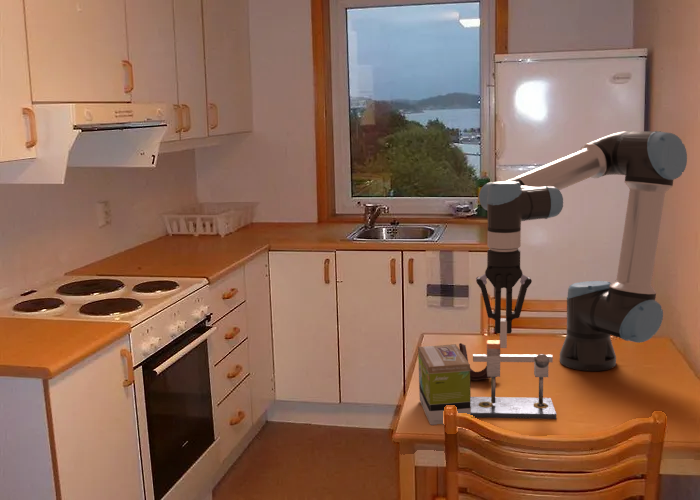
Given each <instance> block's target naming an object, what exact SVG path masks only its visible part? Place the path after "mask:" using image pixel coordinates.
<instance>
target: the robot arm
mask: <svg viewBox="0 0 700 500" xmlns="http://www.w3.org/2000/svg"><path fill="white" fill-rule="evenodd" d="M687 152H688V151H687V148H686V146H685V144H684V143H683V140H682V139H681V138H680V137H679V136H678V135H676V134H675V133H673V132H672V133H671V132H666V131H662V130H661V131H657V130H655V131H654V130H653V131H648V130H647V131H646V130H645V131H643V130H642V131H640V130H639V131H637V130H636V131H632V130H625V131H623V130H622V131H618V132H614V133H611V134H609V135H606V136H603V137H601V138H598V139H595V140H592V141H590V142H588V143H586V144H584V145H582V146H581V148H580V149H579V150H578V151H577V152H574V153H571V154H569V155H567V156H564V157H561V158H558V159H557V160H554V161H552V162H549V163H547V164H544V165H541V166H539V167H537V168H534V169H532V170H530V171H527V172H525V173H521V174H519V175H517V176H514V177H512V178H509V179H507V180H502V181H500V180H499V181H493V182H492V181H490V182H487V183H485V184H484V185H483V186H482V187H481V189H480V191H479V195H478V200H479V204H480V206H481V207H482V208H483V209H484V210H485V211H487V213H486V214H487V236H486V237H487V240H486V241H487V248H488V249H487V252H486V253H487V259H486V261H487V262H486V263H487V265H486V269H485V271H484V274H482V275H480V276H477V277H476V278H475V280H476V284H477V285H478V287H479V288H480V291H481V294H482V298H483V302H484V306H485V310H486V314H487V318H489V319H493V320H494V333H495V334H499V340H500V349H507V346H508V342H507V341H508V334H511V333H512V332H513V331H512V329H513V327H512V326H513V325H512V323H513V320H515V319H519V318H520V316H521V313H522V309H523V305H524V302H525V297H526V294H527V290H528V288H529V287H530V285H531V284H532V282H533V281H532V279H531V277H530V276H527V275H525V273H523V270H522V269H521V250H520V249H519V248H521V244H522V243H521V241H522V240H521V238H522V236H521V233H522V231H521V230H522V227H521V226H522V222H525V221H526V222H527V221H534V220H541V219H542V220H543V219H544V220H547V219H551V218H554V217H557V216H558V215H560V213H561V212H562V210H563V207H564V197H563V194H562V192H561V190H563V189H566V188H568V187H571V186H574V185H575V184H578V183H580V182H583V181H585V180H586V179H590V178H592V179H599V178H603V177H604V176H610V175H611V176H612V175H614V176H615V175H619V176H621V175H622V176H624V183H625V185H626V186H627V187H628V188H629V191H628V192H629V193H628V198H627V207H626V212H625V213H626V214H625V219H624V225H623V226H624V227H623V234H622V240H621V248H620V253H619V259H618V260H619V261H618V267H617V275H616V280H614V281H613V282H612V283H611V282H610V281H605V280H592V281H591V280H589V281H587V280H586V281H580V282H574V283H572V284H570V285H569V287H568V288H567V297H566V336H565V338H564V341H563V345H562V347H561V349H560V352H559V362H560V364H561V365H563V366H564V367H566V368H569V369H572V370H577V371H582V372H583V371H584V372H602V371H603V372H604V371H609V370H611V369H613V368H615V367H616V366H617V356H616V352H615V349H614V345H613V342H612V339H611V336H614V337H616V338H620V339H621V340H624V341H627V342H633V343H644V342H647V341H649V340H651V339H652V338H653V337H654V335H656V334H657V332H658V331H659V330H660V328H661V325H662V322H663V320H664V310H663V309H662V305H661V303H659V302H658V301H657V300H656V298H657V297H656V296H657V291H656V290H655V287H653V286H652V281H653V275H654V268H655V260H656V255H657V250H658V249H657V248H658V243H659V236H660V235H659V234H660V229H661V223H662V216H663V208H664V202H665V197H666V193H667V192H668V191H669V190H671V189H672V188H673V186H674V180H677V179H678V178H680V177H681V176H682V175H683V173H684V172H685V170H686V168H687V165H688V164H687V163H688V153H687ZM487 280H488V281H489V282H490V283H491V285H492V286H493V287H494V311H493V310H492V307H491V302H490V297H489V295H488V289H487V286H486V285H487V283H488V282H487ZM519 280H520V282H519V283H520V284H521V285H520V287H519V291H518V294H517V295H518V296H517V299H516V302H515V307H514V310H513V288H514V286H515V285H516V284H517V283H518V281H519ZM502 289H505V317H502V314H501V311H502Z"/></svg>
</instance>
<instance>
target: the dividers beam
mask: <svg viewBox="0 0 700 500" xmlns="http://www.w3.org/2000/svg"><path fill="white" fill-rule="evenodd" d="M553 359H554V358H553V354H544V353H539V354H507V353H506V354H504V353H503V354H501V353H500V363H533V367H534V368H533V369H534V370H533V372H534V373H533V375H534V377H535V378H538V398H539V404H543V398H544V378H549V364H550V363H553V362H554V361H553ZM472 361H473V363H487V353H483V354H481V353H479V354H477V353H473V354H472Z"/></svg>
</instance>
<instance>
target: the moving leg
mask: <svg viewBox="0 0 700 500" xmlns="http://www.w3.org/2000/svg"><path fill="white" fill-rule="evenodd" d="M486 354H487V362H486V366H487V377H491V378H490V379H491V381H490V383H491V384H490V388H491V391H490V397H491V403H495V397H496V391H497V390H496V388H497V387H496V383H497V381H496V380H497V379H496V378H500V377H501V362H500V354H501V348H500V339H498V340H497V339H492V340H491V339H490V340H489V339H487V340H486Z"/></svg>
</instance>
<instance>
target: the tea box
mask: <svg viewBox="0 0 700 500" xmlns="http://www.w3.org/2000/svg"><path fill="white" fill-rule="evenodd" d="M417 350H418V351H417V360H418V361H417V362H418V384H419V385H418V386H419V387H418V389H419V391H418V392H419V393H418V394H419V401H420V404H421V406H422V409H423V411H424V414H425V415H426V418H427V420H428V423H429V425H430V426H438V425H437V424H442V425H444V424H443V411H444V407H445V406H446V405H455V406H456V407H457V411H458V413H467V414H470V415H471V397H472V396H471V395H472V394H471V379H470V368H471V364H470V362H469V360H468V361H467V360H466V358H465V357H464V355H463V354H462V352H461V351H460V348H459V347H458V345H457V344H456V343H455V344H454V343H453V344H452V343H451V344H442V345H425V346H417Z"/></svg>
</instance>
